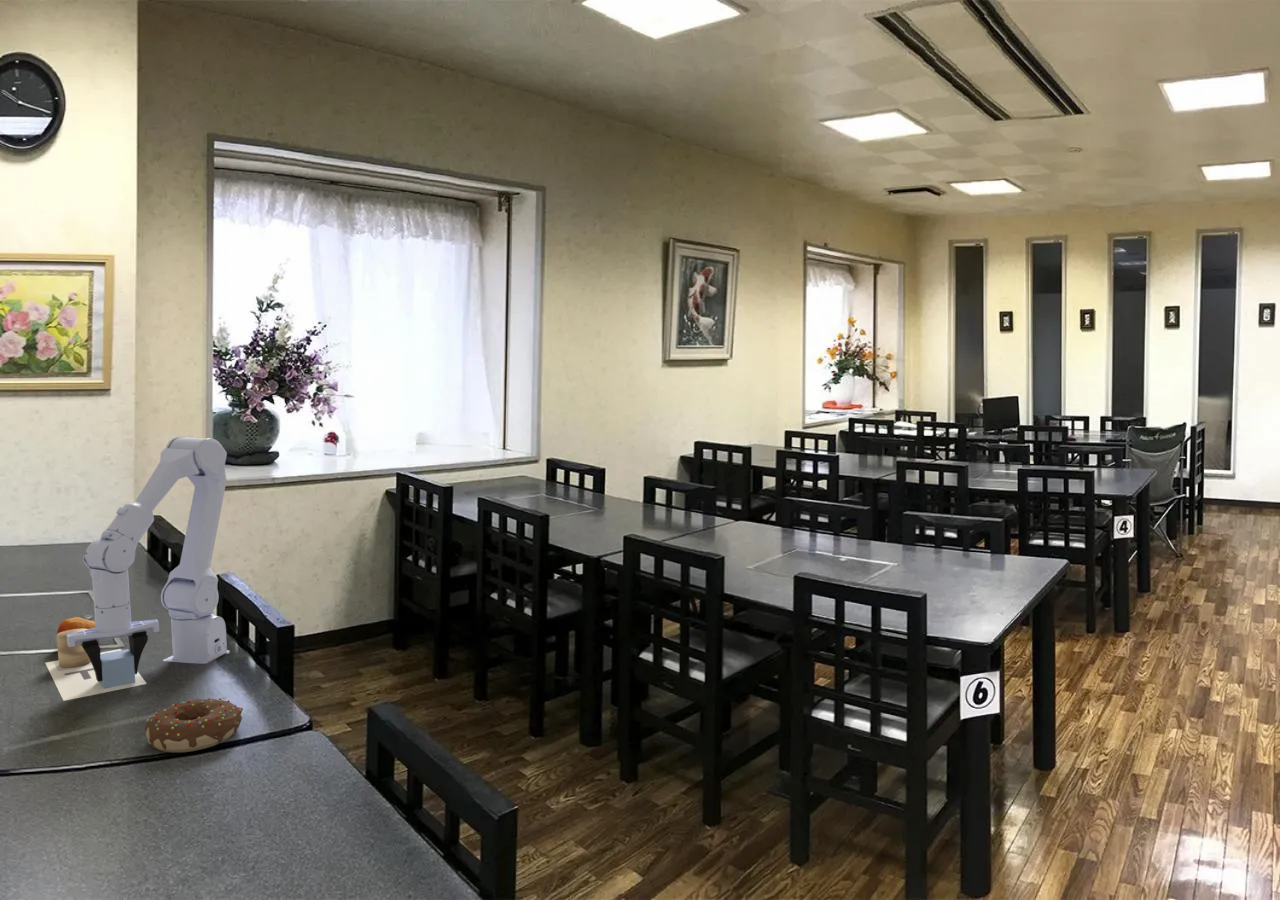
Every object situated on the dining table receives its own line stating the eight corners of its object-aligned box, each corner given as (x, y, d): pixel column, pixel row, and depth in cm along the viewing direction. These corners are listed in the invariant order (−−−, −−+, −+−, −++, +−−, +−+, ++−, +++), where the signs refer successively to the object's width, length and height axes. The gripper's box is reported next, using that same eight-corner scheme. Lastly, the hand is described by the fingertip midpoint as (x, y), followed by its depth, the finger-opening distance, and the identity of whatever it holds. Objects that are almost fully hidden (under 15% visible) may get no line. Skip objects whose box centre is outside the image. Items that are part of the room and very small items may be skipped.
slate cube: (129, 674, 172) (128, 649, 171) (135, 682, 168) (133, 655, 167) (99, 681, 169) (97, 654, 168) (104, 688, 165) (102, 661, 164)
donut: (154, 766, 136) (152, 734, 135) (140, 735, 147) (138, 705, 146) (255, 742, 144) (254, 711, 144) (235, 714, 155) (233, 686, 155)
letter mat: (120, 651, 187) (120, 648, 187) (147, 686, 167) (146, 683, 167) (45, 665, 179) (45, 662, 179) (63, 704, 159) (63, 700, 159)
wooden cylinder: (90, 656, 182) (87, 627, 181) (93, 663, 178) (90, 633, 177) (58, 662, 179) (55, 632, 178) (60, 669, 174) (57, 638, 174)
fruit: (38, 648, 184) (57, 610, 187) (74, 658, 191) (91, 621, 194) (62, 655, 181) (81, 615, 183) (97, 664, 187) (115, 626, 190)
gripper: (151, 592, 174) (155, 662, 176) (62, 606, 165) (67, 679, 167) (159, 600, 169) (164, 672, 170) (68, 615, 160) (73, 690, 161)
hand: (116, 676), depth 168 cm, fingers closed on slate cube, 5 cm apart
